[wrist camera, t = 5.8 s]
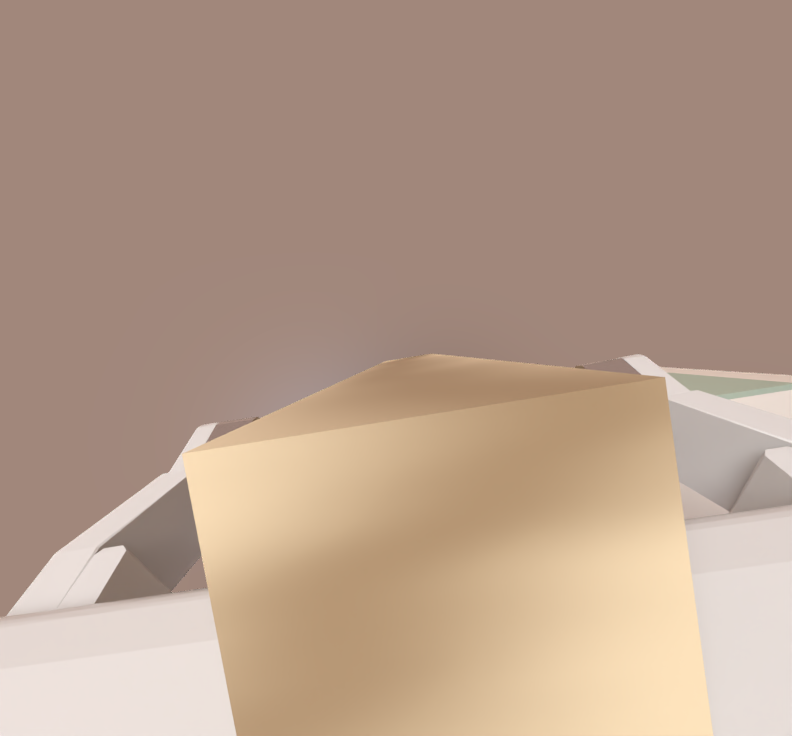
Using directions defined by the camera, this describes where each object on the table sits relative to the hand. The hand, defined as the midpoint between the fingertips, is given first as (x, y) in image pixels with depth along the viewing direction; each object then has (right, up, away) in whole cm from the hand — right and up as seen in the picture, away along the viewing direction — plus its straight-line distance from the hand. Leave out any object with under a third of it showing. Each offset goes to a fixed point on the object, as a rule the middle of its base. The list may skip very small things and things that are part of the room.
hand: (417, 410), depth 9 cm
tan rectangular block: (0, -2, +5) cm, 6 cm away
